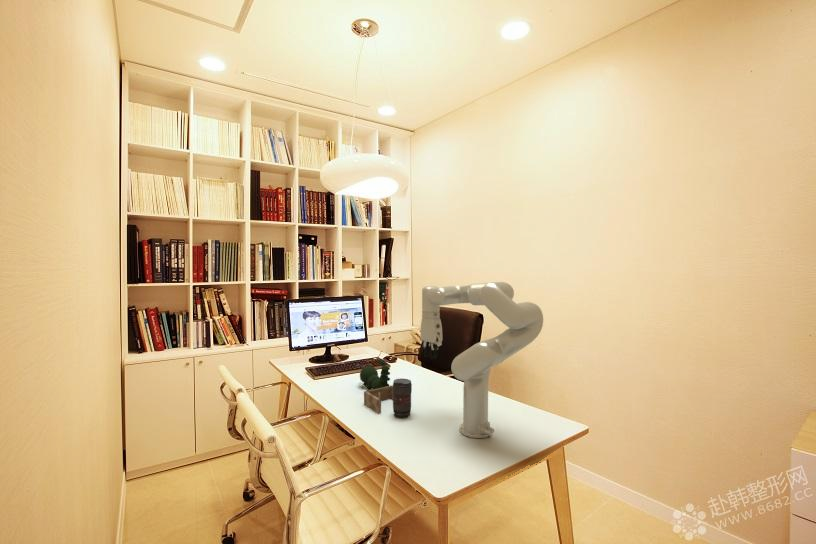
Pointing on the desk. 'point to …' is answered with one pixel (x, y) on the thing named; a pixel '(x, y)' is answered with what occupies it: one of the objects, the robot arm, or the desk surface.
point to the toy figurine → (375, 376)
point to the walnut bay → (377, 397)
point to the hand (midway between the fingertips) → (430, 357)
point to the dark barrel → (402, 398)
